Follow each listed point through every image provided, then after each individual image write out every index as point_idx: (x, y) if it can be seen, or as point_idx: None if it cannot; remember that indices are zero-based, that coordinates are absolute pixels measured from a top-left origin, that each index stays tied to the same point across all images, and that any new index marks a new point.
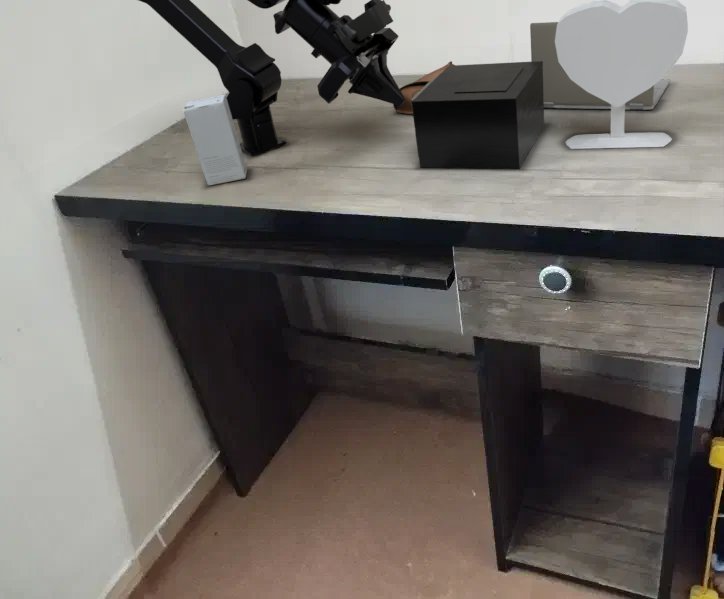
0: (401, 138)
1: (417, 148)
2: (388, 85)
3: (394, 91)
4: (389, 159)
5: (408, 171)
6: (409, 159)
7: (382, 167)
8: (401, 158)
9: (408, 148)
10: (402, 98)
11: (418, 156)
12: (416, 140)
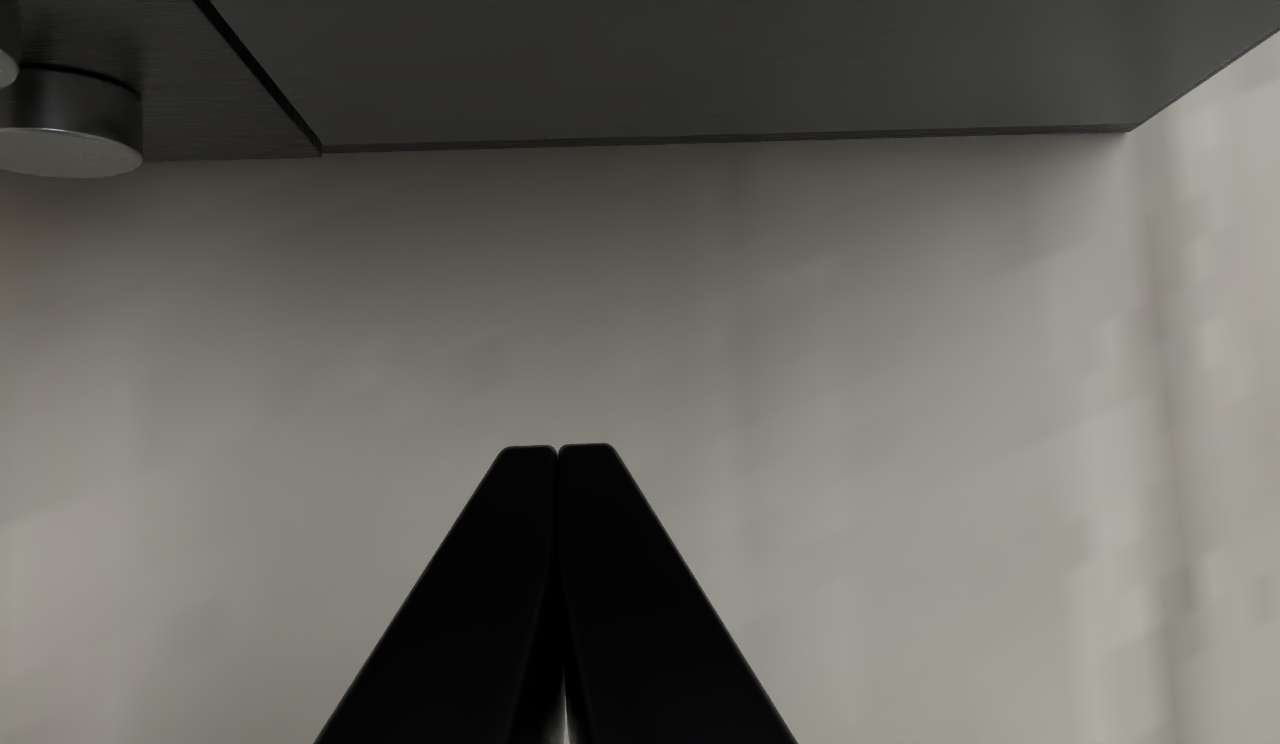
0: (330, 683)
1: (1182, 89)
2: (777, 738)
3: (692, 595)
4: (942, 563)
5: (1215, 225)
6: (925, 334)
7: (1152, 550)
8: (906, 435)
9: (630, 468)
10: (597, 461)
11: (1138, 120)
12: (1234, 53)
